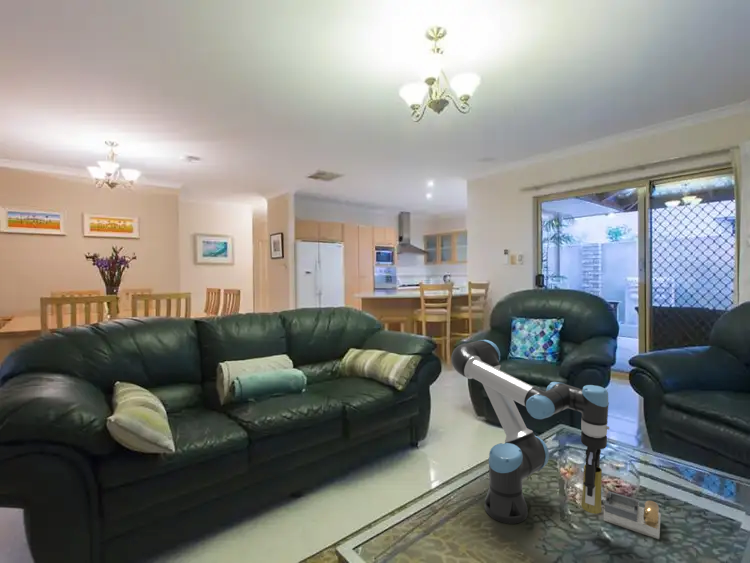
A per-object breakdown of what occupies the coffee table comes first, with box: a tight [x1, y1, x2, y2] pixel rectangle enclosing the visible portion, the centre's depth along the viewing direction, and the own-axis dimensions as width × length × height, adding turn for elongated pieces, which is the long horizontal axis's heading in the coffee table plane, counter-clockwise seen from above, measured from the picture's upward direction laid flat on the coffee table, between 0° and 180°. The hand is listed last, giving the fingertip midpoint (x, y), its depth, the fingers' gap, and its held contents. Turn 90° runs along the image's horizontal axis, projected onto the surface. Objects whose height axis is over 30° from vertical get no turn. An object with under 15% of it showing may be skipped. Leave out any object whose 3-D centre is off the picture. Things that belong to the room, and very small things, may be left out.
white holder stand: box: [603, 490, 662, 540], centre depth 138 cm, size 16×10×8 cm, turn 52°
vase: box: [580, 464, 603, 515], centre depth 132 cm, size 6×6×14 cm
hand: (591, 498), depth 133 cm, fingers closed on vase, 6 cm apart
